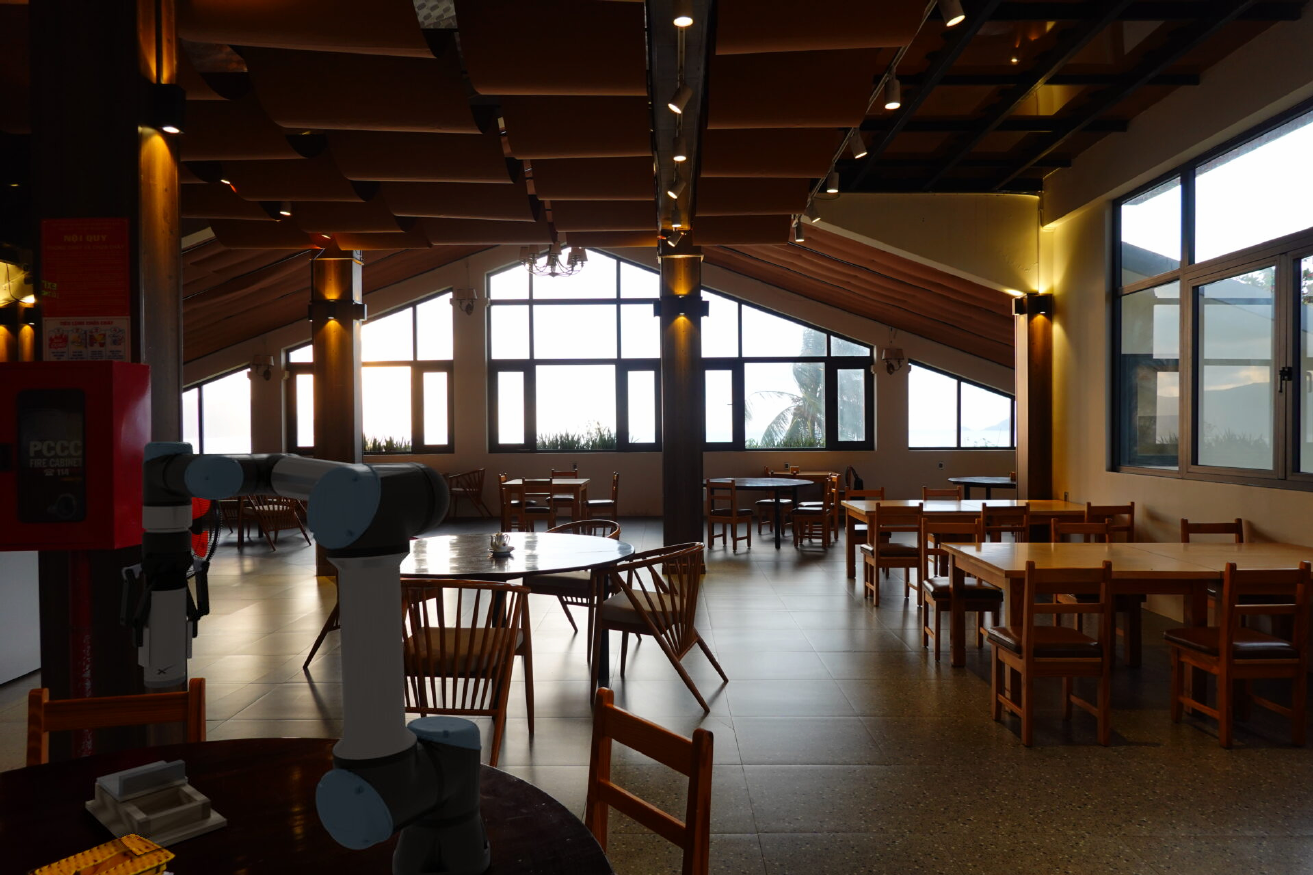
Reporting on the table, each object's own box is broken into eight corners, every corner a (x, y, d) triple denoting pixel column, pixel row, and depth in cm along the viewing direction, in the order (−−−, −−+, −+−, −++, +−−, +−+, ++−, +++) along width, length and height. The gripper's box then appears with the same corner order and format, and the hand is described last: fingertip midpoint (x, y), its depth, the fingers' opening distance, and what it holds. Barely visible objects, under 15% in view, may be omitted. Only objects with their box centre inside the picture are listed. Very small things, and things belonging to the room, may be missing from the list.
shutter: (187, 781, 151) (188, 761, 151) (119, 801, 142) (119, 780, 142) (163, 764, 158) (163, 744, 158) (96, 782, 150) (97, 761, 150)
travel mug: (167, 689, 140) (169, 572, 140) (135, 686, 142) (136, 571, 142) (195, 679, 146) (196, 567, 146) (163, 676, 148) (165, 565, 148)
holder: (226, 825, 143) (227, 802, 143) (136, 856, 133) (136, 831, 133) (169, 783, 160) (170, 762, 160) (85, 807, 149) (85, 785, 149)
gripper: (215, 523, 154) (214, 647, 154) (96, 531, 139) (94, 668, 139) (233, 527, 149) (231, 654, 149) (111, 535, 134) (109, 677, 134)
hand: (165, 660), depth 144 cm, fingers closed on travel mug, 6 cm apart
